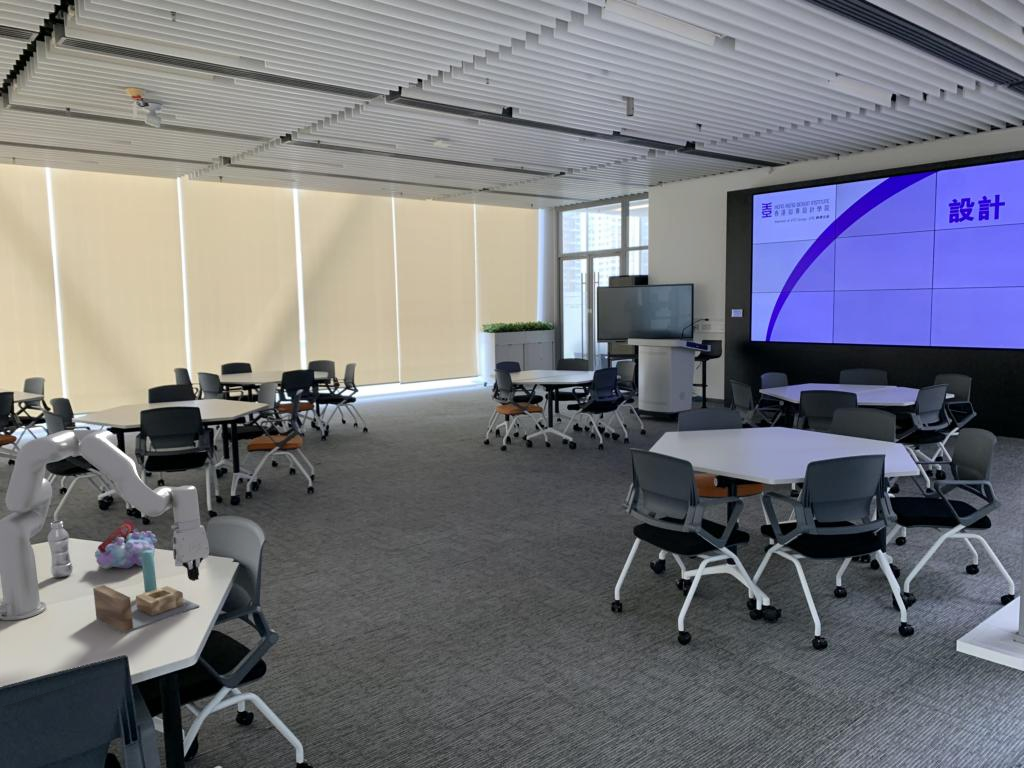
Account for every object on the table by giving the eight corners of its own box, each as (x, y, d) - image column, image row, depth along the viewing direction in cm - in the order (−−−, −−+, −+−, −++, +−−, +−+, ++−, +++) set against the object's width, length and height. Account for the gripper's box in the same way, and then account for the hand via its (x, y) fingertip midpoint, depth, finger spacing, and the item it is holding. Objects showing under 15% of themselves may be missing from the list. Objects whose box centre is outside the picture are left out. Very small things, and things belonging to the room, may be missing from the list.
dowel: (148, 595, 251) (144, 554, 250) (143, 593, 254) (139, 552, 252) (158, 591, 254) (155, 551, 252) (153, 589, 256) (149, 549, 255)
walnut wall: (122, 632, 222) (119, 600, 220) (96, 617, 233) (93, 587, 232) (133, 628, 224) (130, 597, 223) (106, 614, 235) (103, 584, 234)
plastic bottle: (66, 579, 270) (60, 524, 268) (47, 579, 270) (41, 525, 268) (77, 572, 276) (71, 519, 274) (58, 573, 277) (53, 519, 274)
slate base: (122, 633, 222) (122, 632, 222) (96, 619, 233) (96, 617, 233) (199, 606, 240) (199, 605, 240) (171, 594, 251) (171, 593, 251)
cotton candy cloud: (137, 563, 269) (147, 514, 277) (76, 563, 269) (87, 514, 276) (160, 575, 288) (169, 528, 295) (103, 575, 287) (113, 528, 295)
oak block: (152, 615, 232) (150, 603, 232) (136, 608, 238) (135, 596, 238) (183, 604, 240) (182, 592, 239) (168, 597, 246) (167, 586, 246)
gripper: (170, 532, 237) (177, 589, 239) (215, 520, 248) (221, 574, 250) (159, 529, 242) (165, 584, 244) (203, 516, 253) (209, 570, 255)
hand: (193, 579), depth 247 cm, fingers closed
